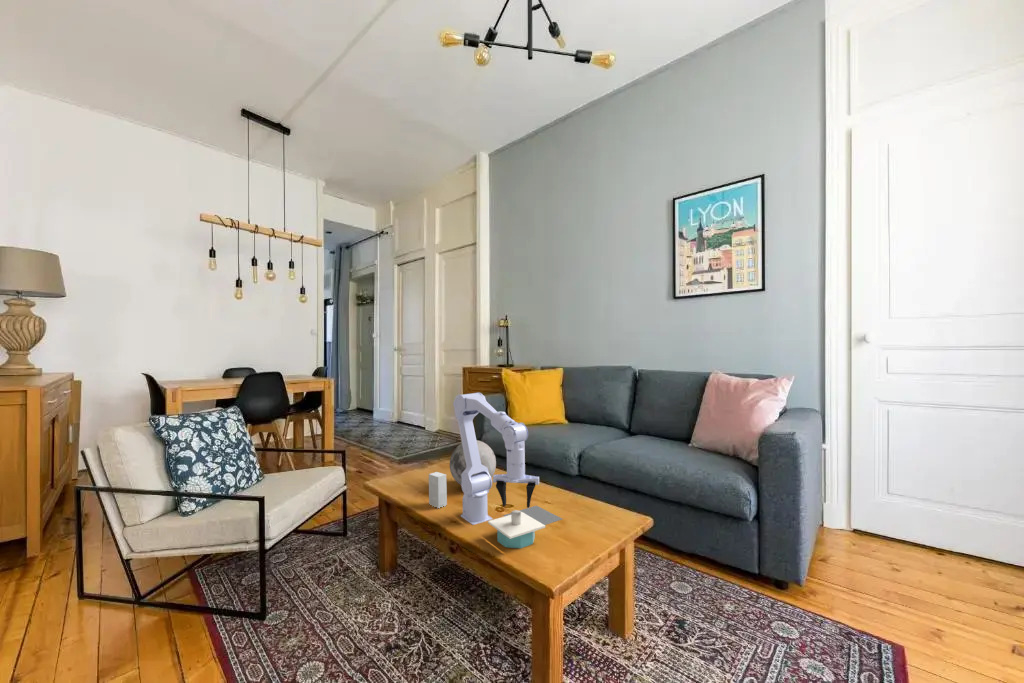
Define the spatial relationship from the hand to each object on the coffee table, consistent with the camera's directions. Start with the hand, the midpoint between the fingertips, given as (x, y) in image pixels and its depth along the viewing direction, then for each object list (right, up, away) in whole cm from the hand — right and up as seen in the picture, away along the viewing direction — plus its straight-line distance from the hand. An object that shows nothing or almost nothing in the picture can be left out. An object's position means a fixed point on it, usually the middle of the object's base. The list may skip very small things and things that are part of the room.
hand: (516, 505), depth 130 cm
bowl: (0, -10, -1) cm, 10 cm away
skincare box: (-30, -11, +28) cm, 42 cm away
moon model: (-18, -11, +48) cm, 53 cm away
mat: (+6, -10, +15) cm, 19 cm away
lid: (0, -6, -1) cm, 6 cm away
